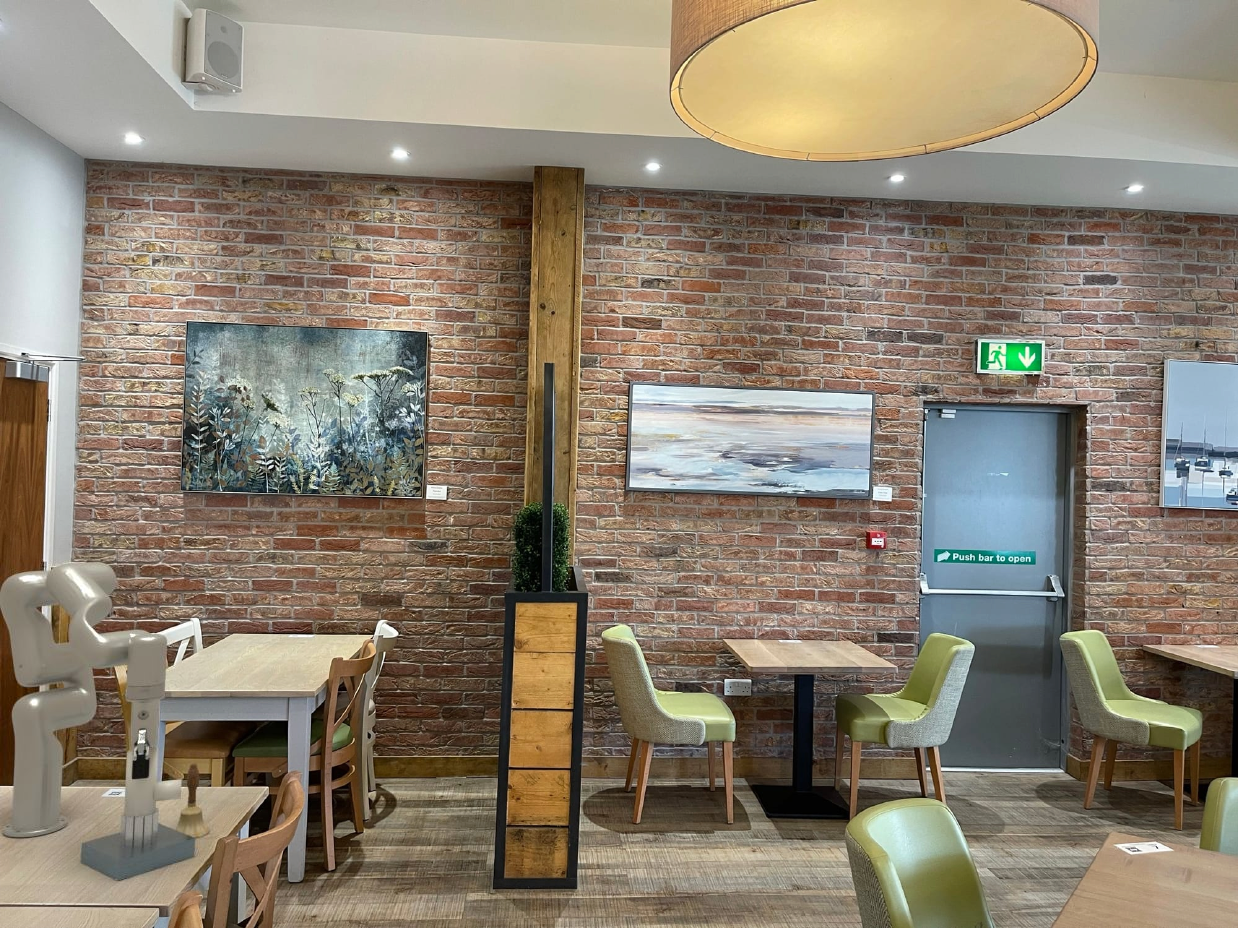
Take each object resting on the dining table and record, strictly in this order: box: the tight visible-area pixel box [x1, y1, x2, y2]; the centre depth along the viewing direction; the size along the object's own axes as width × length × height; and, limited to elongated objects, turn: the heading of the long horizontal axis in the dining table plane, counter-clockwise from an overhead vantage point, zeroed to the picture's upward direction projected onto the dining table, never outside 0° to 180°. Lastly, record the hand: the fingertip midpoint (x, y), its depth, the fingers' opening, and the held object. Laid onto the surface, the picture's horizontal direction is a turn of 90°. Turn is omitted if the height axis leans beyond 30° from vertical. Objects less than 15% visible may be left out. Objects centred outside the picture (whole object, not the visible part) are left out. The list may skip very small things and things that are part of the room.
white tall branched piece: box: [123, 746, 183, 817], centre depth 193 cm, size 11×6×16 cm, turn 115°
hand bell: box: [173, 763, 211, 839], centre depth 207 cm, size 8×8×16 cm
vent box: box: [80, 807, 196, 882], centre depth 192 cm, size 16×16×10 cm
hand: (141, 771), depth 192 cm, fingers open, 9 cm apart
